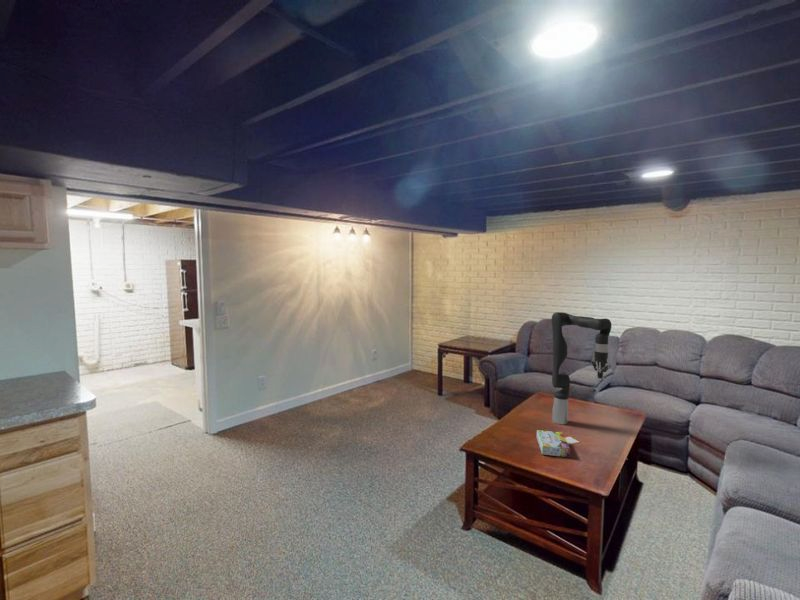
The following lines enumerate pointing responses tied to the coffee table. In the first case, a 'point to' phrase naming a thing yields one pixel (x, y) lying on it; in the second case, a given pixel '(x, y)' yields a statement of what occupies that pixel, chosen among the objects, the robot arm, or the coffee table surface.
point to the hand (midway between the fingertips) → (600, 378)
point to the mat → (571, 440)
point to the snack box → (553, 443)
